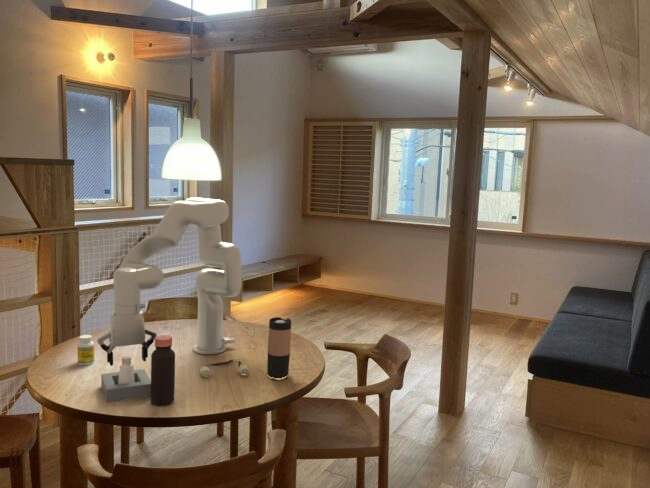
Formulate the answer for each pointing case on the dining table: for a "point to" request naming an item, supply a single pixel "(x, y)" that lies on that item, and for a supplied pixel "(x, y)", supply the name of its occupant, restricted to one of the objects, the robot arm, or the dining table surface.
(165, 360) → the dark brown water bottle
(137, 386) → the frame
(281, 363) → the travel mug
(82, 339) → the supplement bottle
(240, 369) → the cable
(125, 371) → the pepper shaker
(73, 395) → the dining table surface
